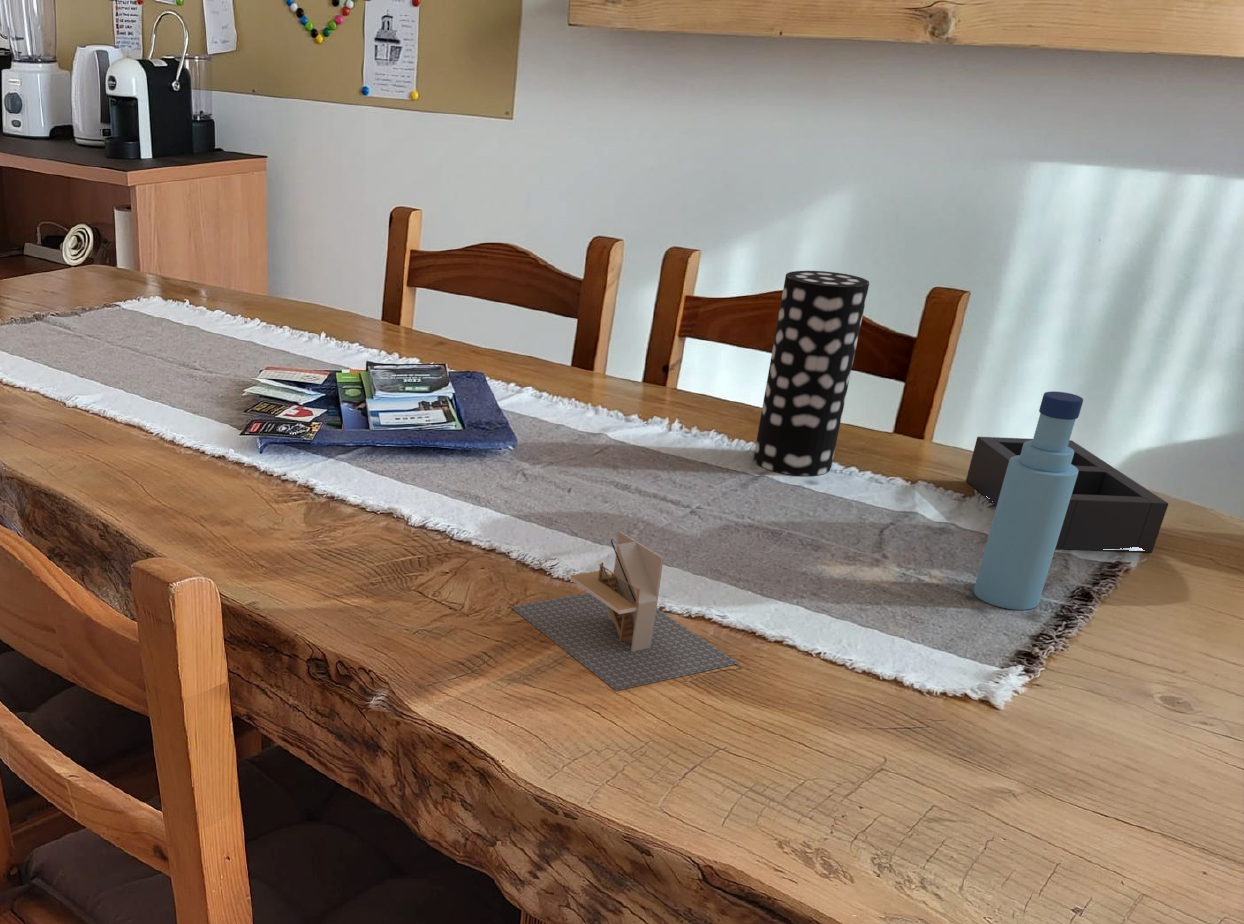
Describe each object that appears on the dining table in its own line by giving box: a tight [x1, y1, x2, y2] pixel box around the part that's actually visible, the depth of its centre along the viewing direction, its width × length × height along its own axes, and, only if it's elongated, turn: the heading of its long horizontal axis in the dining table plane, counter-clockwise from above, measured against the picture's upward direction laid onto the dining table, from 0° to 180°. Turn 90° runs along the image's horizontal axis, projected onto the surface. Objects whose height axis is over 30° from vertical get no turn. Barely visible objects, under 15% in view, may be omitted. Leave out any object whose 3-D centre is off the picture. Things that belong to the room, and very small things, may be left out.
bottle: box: [973, 390, 1084, 611], centre depth 104 cm, size 5×5×18 cm
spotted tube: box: [752, 270, 870, 477], centre depth 134 cm, size 8×8×20 cm
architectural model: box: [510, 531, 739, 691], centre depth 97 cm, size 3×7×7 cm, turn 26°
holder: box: [965, 436, 1169, 554], centre depth 126 cm, size 10×19×5 cm, turn 0°
